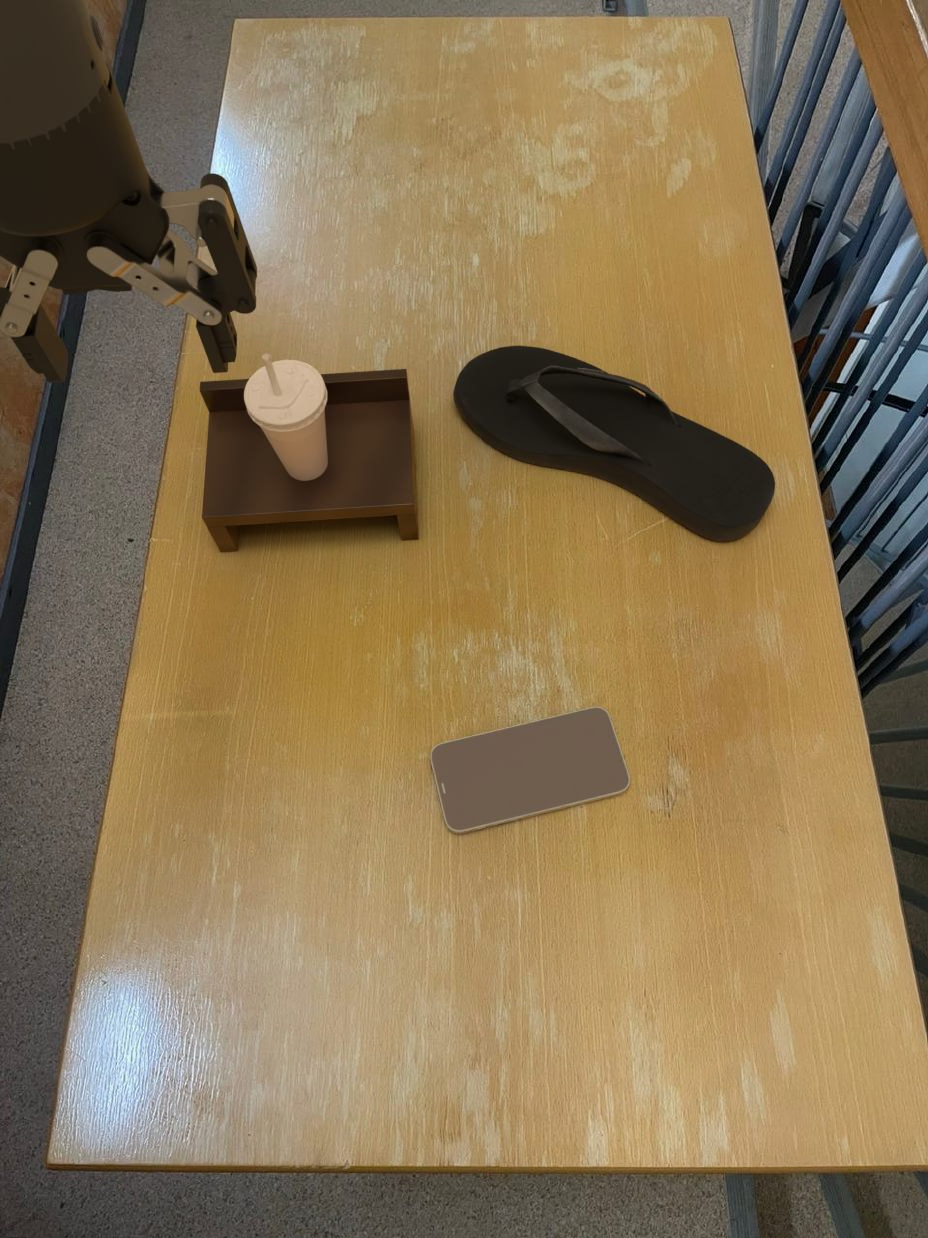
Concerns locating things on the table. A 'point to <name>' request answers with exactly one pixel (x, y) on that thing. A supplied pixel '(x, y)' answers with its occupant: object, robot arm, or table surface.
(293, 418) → the smoothie
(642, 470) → the sandal
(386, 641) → the table surface
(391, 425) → the shelf
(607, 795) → the smartphone
